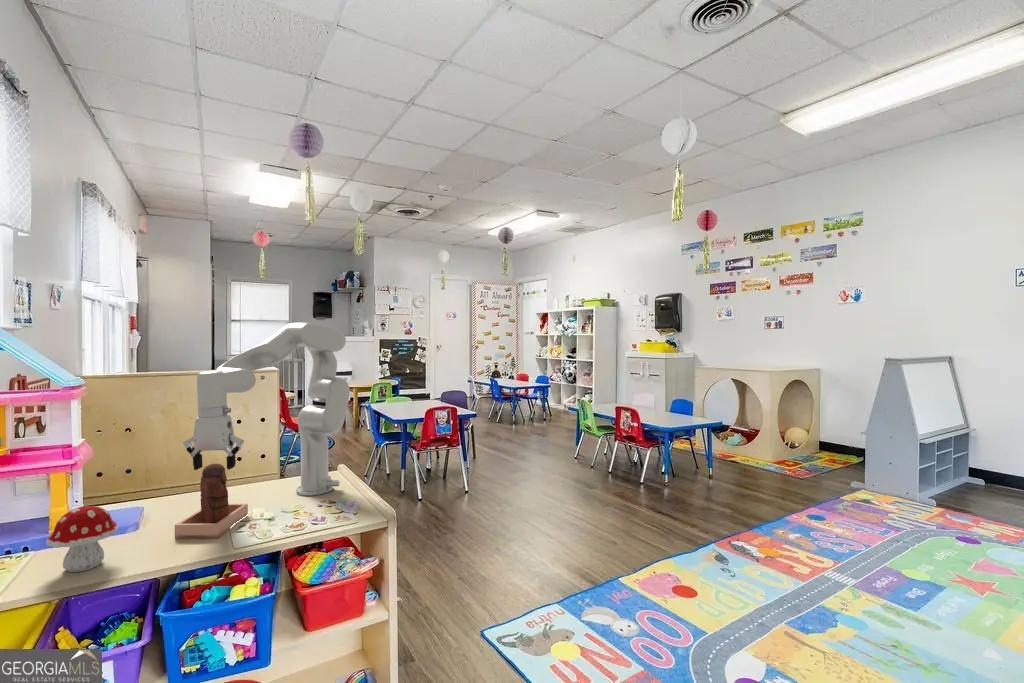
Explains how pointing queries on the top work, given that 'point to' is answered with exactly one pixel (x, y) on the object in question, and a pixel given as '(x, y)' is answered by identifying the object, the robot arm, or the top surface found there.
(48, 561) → the top surface
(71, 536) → the decorative mushroom
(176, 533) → the tray
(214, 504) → the wooden figurine
